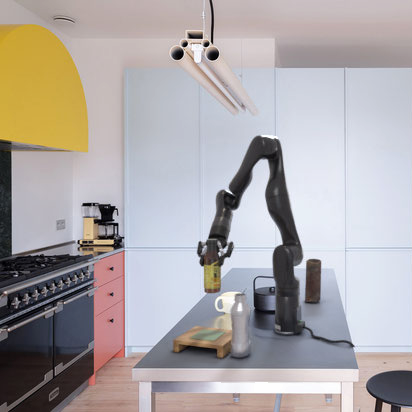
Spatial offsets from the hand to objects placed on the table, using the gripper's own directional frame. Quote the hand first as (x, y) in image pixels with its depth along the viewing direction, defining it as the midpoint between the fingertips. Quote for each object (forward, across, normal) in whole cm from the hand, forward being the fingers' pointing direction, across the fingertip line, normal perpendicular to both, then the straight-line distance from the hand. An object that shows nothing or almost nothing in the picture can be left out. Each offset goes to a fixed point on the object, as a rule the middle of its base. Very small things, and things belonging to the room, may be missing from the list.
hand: (210, 265), depth 154 cm
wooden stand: (+27, +3, +8) cm, 29 cm away
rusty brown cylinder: (-14, +34, +50) cm, 62 cm away
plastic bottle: (+32, +16, +4) cm, 36 cm away
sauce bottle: (+6, 0, +9) cm, 11 cm away
